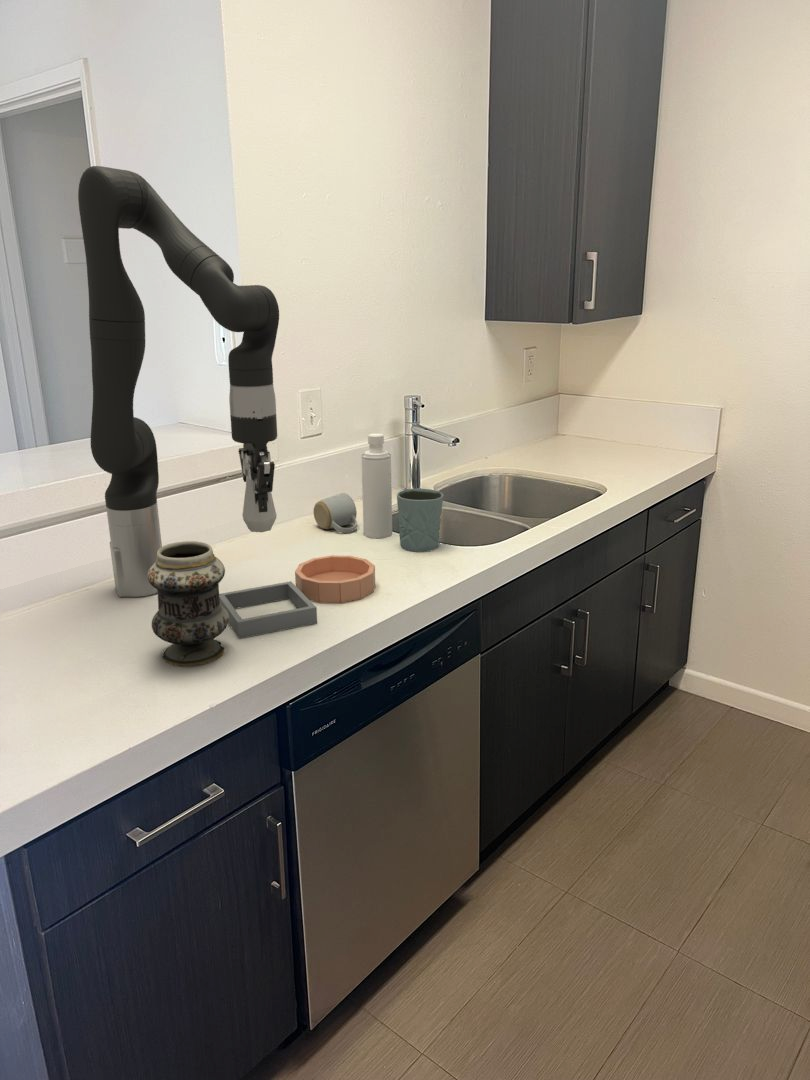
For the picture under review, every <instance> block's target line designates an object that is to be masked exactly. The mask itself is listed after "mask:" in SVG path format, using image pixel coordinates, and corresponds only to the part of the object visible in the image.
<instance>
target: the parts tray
mask: <svg viewBox="0 0 810 1080" xmlns="http://www.w3.org/2000/svg"><path fill="white" fill-rule="evenodd" d="M219 598H220V605H221V606H222V607H224V608H225V609H226V611H227V612H228V615H229V623H228V625H229V624H230V625H229V626H230V628H231V627H232V628H231V629H232V630H234V631H233V632H234V633H235V635H236V636H237V638H238V639H239V638H240V639H244V638H249V637H255V636H260V635H264V634H269V633H273V632H279V631H283V630H290V629H293V628H294V629H295V628H299V627H300V628H301V627H304V626H310V625H315V624H318V611H317V610H318V609H317V606H316V605H315V604H314V603H313V601H311V600H309V599H308V598H307V597H306V596H305V595H304V594H303V593H302V592H301V591H300V590H299V589H298V588H297V587H296V584H294V583H293V581H291V580H290V581H286V582H279V583H278V582H277V583H274V584H269V585H268V584H266V585H262V586H261V585H260V586H258V587H257V586H255V587H250V588H244V589H241V590H239V589H238V590H234V591H229V592H223V593H219ZM283 600H289V601H290V602H291V603H292V604H293V605H294V607H296V608H294V609H289V610H283V611H279V612H273V613H268V614H263V615H262V614H261V615H257V616H251V617H246V618H242V617H241V616H240V614H239V613H238V611H237V610H236V609H239V608H238V607H241V608H246V607H250V606H251V605H252V606H257V605H261V604H267V603H272V602H278V601H283ZM234 608H235V609H234Z"/></svg>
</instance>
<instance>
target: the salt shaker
mask: <svg viewBox="0 0 810 1080" xmlns="http://www.w3.org/2000/svg"><path fill="white" fill-rule="evenodd" d="M244 467H245V469H246V470H248V464H247V463H246V457H245V458H244ZM254 475H257V473H256V474H254ZM262 485H264V482H263V483H262ZM244 489H245V491H244V499H243V507H242V520H243V522H244V524H245V525H246V527H247V529H248V530H249V531H250V532H251V533H265V532H271V530H272V528H273V526H274V524H275V522H276V520H277V511H276V507H275V503H274V499H273V494H272V492H269V493H268V501H267V512H260V513H259V506H258V500H257V503H256V504H255V495H254V492H253V481H252V480H250V479H249V471H248V472H247V481H246V482H245V488H244ZM262 498H263V497H262ZM262 508H264V507H262Z"/></svg>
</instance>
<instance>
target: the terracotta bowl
mask: <svg viewBox="0 0 810 1080" xmlns="http://www.w3.org/2000/svg"><path fill="white" fill-rule="evenodd" d="M294 576H295V577H294V579H295V586H296V587H297V588H298V589H299V590H300V591H301V592H302V593H303V594H304V595H305V596H306V597H307V598H308V599H309V600H310V601H311V600H312V601H311V602H315V601H316V603H320V604H321V603H323V604H326V603H327V604H343V603H342V602H344V603H348V602H347V601H349V602H352V601H351V600H354V601H359V600H362V599H363V598H365V597H367V596H369V595H371V594H374V590H375V588H376V565H375V564H374V563H372V562H371V561H369V560H368V559H366V558H362V557H358V556H354V555H334V554H333V555H325V556H320V557H313V558H311V559H308V560H305V561H304V562H303V561H302V562H301V563H299V564H298V566H297V567H296V569H295V570H294ZM358 599H359V600H358ZM340 602H341V603H340Z"/></svg>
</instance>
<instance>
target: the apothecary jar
mask: <svg viewBox="0 0 810 1080" xmlns="http://www.w3.org/2000/svg"><path fill="white" fill-rule="evenodd" d="M225 574H226V567H225V564H224V563H223V561H221V560H220V558H218V557H217V556H215V554H214V551H213V548H212V546H211V545H210V544H208V543H206V542H203V541H198V540H197V541H196V540H195V541H193V540H189V541H188V540H187V541H186V540H185V541H176V542H172V543H168V544H165V545H162V547H161V548H160V549H159V550H158V552H157V560H156V562H155V563H154V564H153V565H152V566H151V567H150V569H149V571H148V580H149V582H150V584H151V585H152V586H153V587H154V588H156V589H157V593H156V594H157V603H158V604H157V605H158V609H157V612H156V613H155V614H154V615H153V616H152V619H151V630H152V632H153V634H154V635H155V636H156V637H157V638H159V639H160V640H162V641H164V642H166V643H170V644H171V645H169V646H167V647H166V648H165V649H164V650H163V652H162V659H163V661H164V662H165V663H167V664H169V665H172V666H174V667H184V668H185V667H196V666H198V667H199V666H203V665H207V664H209V663H213V662H214V661H217V660H218V659H220V658H221V657H222V656H223V655H224V654H225V650H226V648H225V647H224V646H223V644H222V642H221V641H219V640H217V639H215V638H217V637H219V636H220V635H221V634H223V632H224V631H225V630H226V629H227V627H228V626H229V615H228V612H227V611H226V609H225V608H224V607H222V606H221V605H220V598H219V594H220V589H219V588H220V587H219V583H221V582H222V580H223V579H224V578H225Z"/></svg>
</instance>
